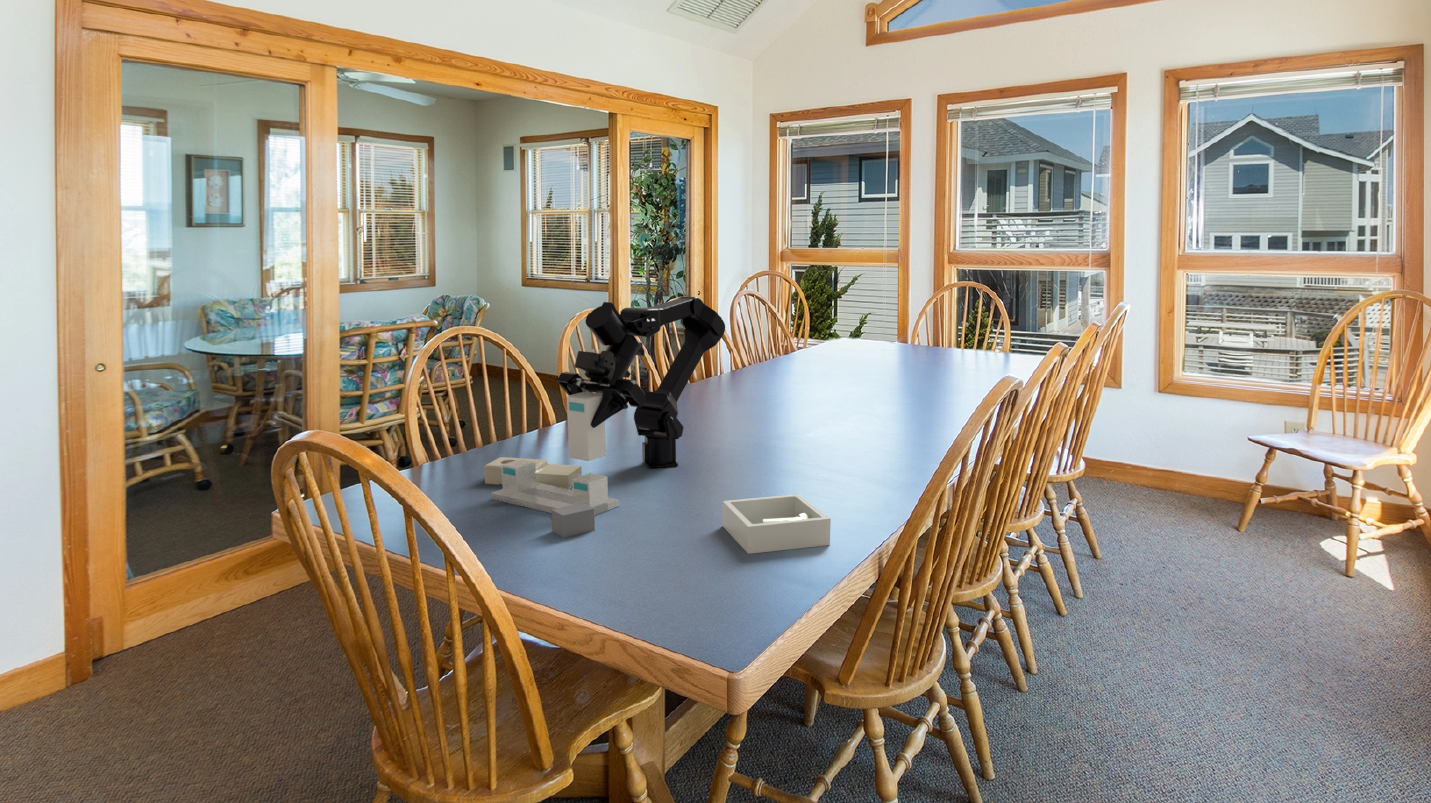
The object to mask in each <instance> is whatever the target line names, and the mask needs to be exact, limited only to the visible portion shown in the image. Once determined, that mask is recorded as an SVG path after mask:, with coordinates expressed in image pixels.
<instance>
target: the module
mask: <svg viewBox="0 0 1431 803" xmlns="http://www.w3.org/2000/svg"><path fill="white" fill-rule="evenodd" d="M602 395H603V394H600V393H594V392H581V393H577V394H573V395H567V396H566V413H567V414H566V416H567V417H566V418H567V433H568V434H567V435H568V437H567V438H568V457H569V459H575V460H580V461H584V462H590V461H591V462H592V461H594V460H597V459H601V458H603V457H605V456H606V454H607V451H606V450H607V449H606V423H605V421H606V420H605V421H604V422H602V423H601V424H599V425H598V426H597V427H595V428H593V427H592V426H591V422H592V419H593V417H594V415H595V413H596V411H597V409H598V407H599V405H600V403H601V401H602Z"/></svg>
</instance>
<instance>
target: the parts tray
mask: <svg viewBox="0 0 1431 803" xmlns="http://www.w3.org/2000/svg"><path fill="white" fill-rule="evenodd" d="M802 513H805V514H807V515H808V516H809V517H810V519H800V520H790V521H780V522H770V523H762V519H774V518H792V517H795V516H797V515H799V514H802ZM831 519H832V518H831V517H829V516H828V515H827V514H825V513H824V512H822V510H820V509H819V508H818V507H816V506H815V505H813V504H812V503H811V502H809V500H807V499H805V497H803V496H802V495H800V494H798V493H797V494H785V495H775V496H773V495H772V496H766V497H765V496H763V497H751V498H742V499H741V498H740V499H739V498H738V499H728V500H722V527H723V528H724V529H725V531H726V532H728V534H729V535H730V536H731V537H732V538H733V539H734V540H735V542H737V543H738V544H739V546H740V547H741V548H742V549H743V550H744V551H745V552H746V553H747V554H748V555H750V554H758V553H759V554H760V553H767V552H777V551H778V552H779V551H789V550H797V549H806V548H815V547H823V546H830V545H831V523H832V522H831Z"/></svg>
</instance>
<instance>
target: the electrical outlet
mask: <svg viewBox="0 0 1431 803" xmlns="http://www.w3.org/2000/svg"><path fill="white" fill-rule="evenodd" d="M519 459H522V460H527V461H532V462H535V464H536V482H538V483H543V484H547V485H552V486H557V487H561V488H566V489H569V488H570V487H571V488H572V479H575V478H578V477H581V476H583V472H582V469H583V468H582V466H583V465H572V464H570V465H569V464H559V463H558V464H556V463H555V464H554V463H549V462H548V460H546V459H538V458H537V459H536V458H522V457H521V458H520V457H506V456H505V457H504V456H500V457H497V458H496V459H494V460H492V461H491V462H489V463H487V464H485V465H484V470H483V471H484V483H485V484H486V485H499V484H502V468H501V465H502V464H506V463H509V462H513V461H516V460H519ZM571 488H570V489H571Z"/></svg>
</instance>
